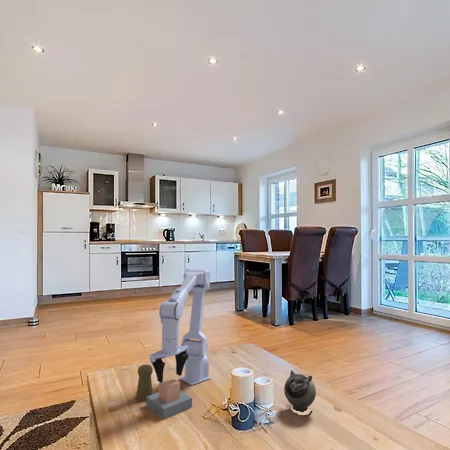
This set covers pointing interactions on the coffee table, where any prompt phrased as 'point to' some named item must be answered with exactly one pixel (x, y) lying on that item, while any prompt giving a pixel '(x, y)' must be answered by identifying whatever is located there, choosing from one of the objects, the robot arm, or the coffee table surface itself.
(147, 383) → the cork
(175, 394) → the tan cube
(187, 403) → the plate
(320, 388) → the coffee table surface
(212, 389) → the coffee table surface
